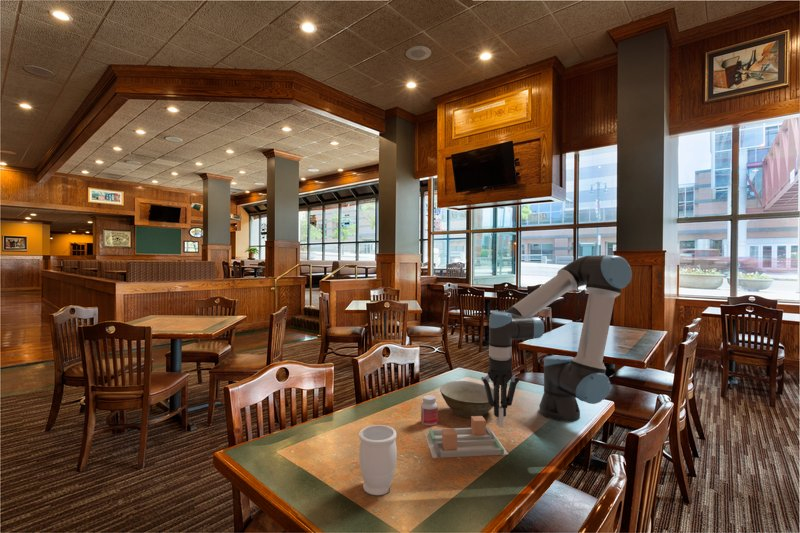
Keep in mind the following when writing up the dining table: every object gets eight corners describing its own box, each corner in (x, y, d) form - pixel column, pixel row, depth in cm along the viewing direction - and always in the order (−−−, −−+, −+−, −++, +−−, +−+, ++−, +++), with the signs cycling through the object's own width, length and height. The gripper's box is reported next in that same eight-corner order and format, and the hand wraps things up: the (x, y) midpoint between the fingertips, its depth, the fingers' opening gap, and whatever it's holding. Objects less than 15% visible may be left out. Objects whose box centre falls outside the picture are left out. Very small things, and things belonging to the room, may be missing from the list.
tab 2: (482, 432, 134) (482, 415, 134) (485, 438, 130) (485, 420, 130) (471, 433, 133) (471, 416, 133) (474, 438, 129) (474, 421, 129)
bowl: (509, 412, 156) (510, 388, 155) (481, 432, 138) (481, 405, 137) (459, 398, 171) (460, 376, 171) (428, 415, 153) (428, 390, 153)
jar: (359, 476, 110) (359, 425, 110) (395, 474, 111) (395, 423, 111) (358, 499, 100) (358, 442, 99) (398, 497, 100) (398, 441, 100)
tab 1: (454, 447, 124) (454, 428, 124) (457, 453, 120) (457, 434, 120) (442, 447, 123) (442, 429, 123) (444, 453, 119) (444, 434, 119)
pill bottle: (441, 427, 142) (441, 398, 142) (427, 431, 139) (427, 401, 138) (430, 421, 147) (430, 393, 147) (417, 425, 144) (417, 396, 143)
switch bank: (492, 435, 136) (492, 426, 135) (508, 458, 120) (508, 449, 120) (425, 438, 134) (424, 429, 134) (432, 462, 118) (432, 452, 118)
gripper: (514, 354, 136) (514, 420, 136) (478, 355, 135) (478, 421, 135) (522, 360, 128) (522, 429, 129) (484, 360, 127) (484, 431, 128)
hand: (499, 425), depth 132 cm, fingers closed
